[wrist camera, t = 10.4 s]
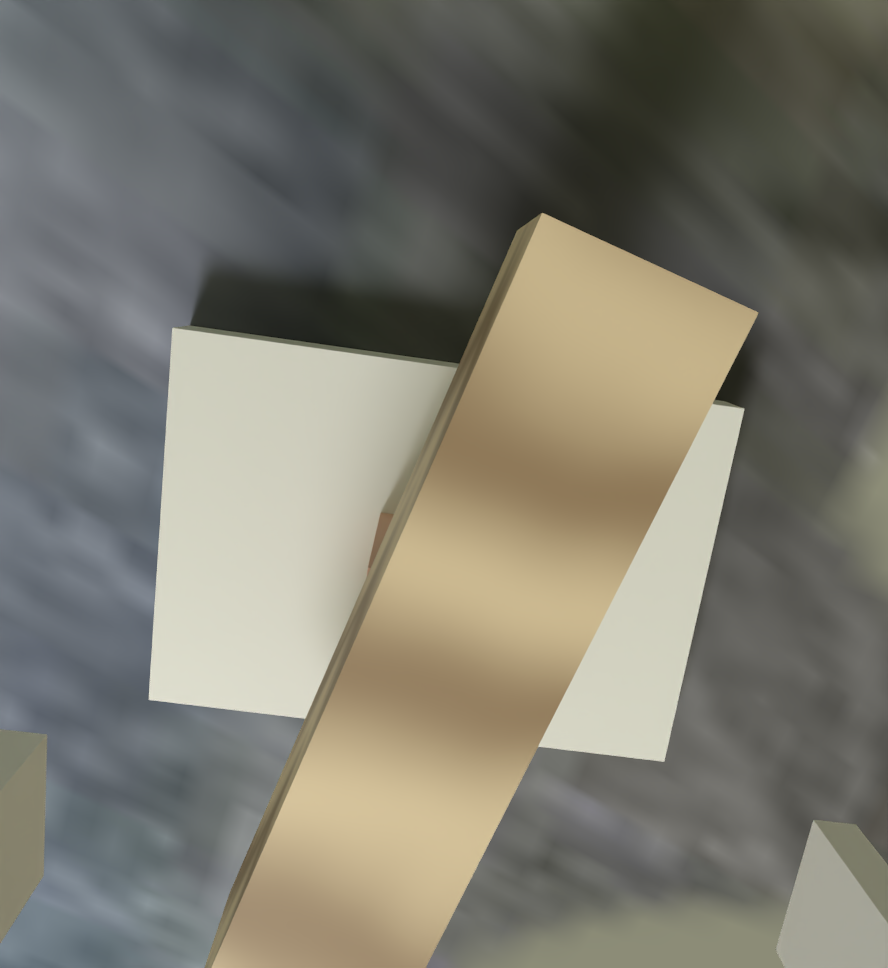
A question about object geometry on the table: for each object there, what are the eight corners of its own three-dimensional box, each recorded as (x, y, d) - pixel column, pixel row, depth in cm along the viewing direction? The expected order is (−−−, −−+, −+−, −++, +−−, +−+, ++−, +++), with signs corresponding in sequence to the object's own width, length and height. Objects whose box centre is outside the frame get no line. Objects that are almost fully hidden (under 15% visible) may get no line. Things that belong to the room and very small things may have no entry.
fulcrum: (189, 325, 30) (103, 337, 22) (724, 401, 31) (824, 438, 23) (165, 675, 33) (82, 795, 25) (650, 734, 34) (716, 867, 26)
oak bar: (375, 944, 26) (362, 1091, 22) (229, 893, 26) (182, 1032, 21) (685, 308, 22) (758, 312, 17) (516, 230, 21) (542, 212, 16)
